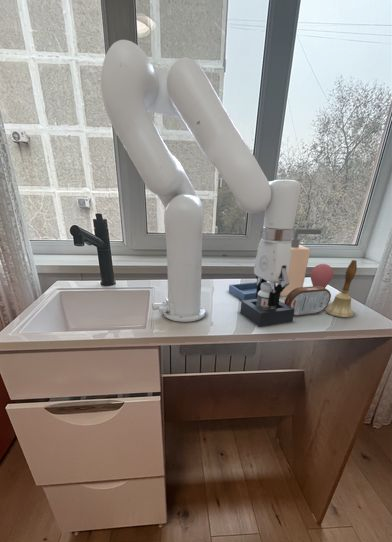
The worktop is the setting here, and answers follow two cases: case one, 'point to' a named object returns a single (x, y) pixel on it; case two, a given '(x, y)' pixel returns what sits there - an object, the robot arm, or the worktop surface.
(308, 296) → the tin
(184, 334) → the worktop surface
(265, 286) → the pill bottle
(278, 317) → the socket base
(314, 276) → the light bulb
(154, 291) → the worktop surface
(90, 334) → the worktop surface
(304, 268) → the soap dispenser
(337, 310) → the hand bell
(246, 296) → the tray
